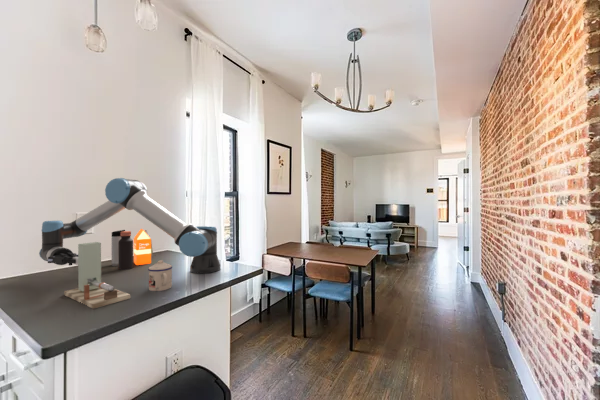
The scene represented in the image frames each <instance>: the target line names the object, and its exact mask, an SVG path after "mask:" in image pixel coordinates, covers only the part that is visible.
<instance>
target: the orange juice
mask: <svg viewBox="0 0 600 400" xmlns="http://www.w3.org/2000/svg"><path fill="white" fill-rule="evenodd" d="M149 236H150V235H149V234H148V235H147V234H146V232H145V230H144V229H143V228H140V230H139V231H138V232H137V233H136V235H134V238H133V264H135V265H136V266H139V265H140V266H141V265H142V266H143V265H148V264H152V256H151V241H152V239H151V236H150V237H149Z"/></svg>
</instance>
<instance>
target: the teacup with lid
mask: <svg viewBox="0 0 600 400" xmlns="http://www.w3.org/2000/svg"><path fill="white" fill-rule="evenodd" d="M172 270H173V265H172V264H169V263H167V262H164V260H163V259H161V260H158V261H157V262H156V263H154V264H153V265H150V266H149V267H148V290H149V291H151V292H161V291H167V290H169V289H171V288H172V286H173V283H172V282H173V281H172V279H173V276H172V275H173V273H172V272H173V271H172Z"/></svg>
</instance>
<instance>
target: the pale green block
mask: <svg viewBox="0 0 600 400" xmlns="http://www.w3.org/2000/svg"><path fill="white" fill-rule="evenodd" d="M77 245H78V246H77V249H78V250H77V251H78V253H77V255H78V265H77V266H78V267H77V268H78V269H77V270H78V271H77V272H78V273H77V274H78V282H77V288H78V290H80V291H82V292H83V291H84V285H89V290H92V289H96V288H99V287H96V286H93V285H91V284H88V279H94V280H97V281H99V282H102V243H101V242H99V241H94V242H85V243H84V242H83V243H78V244H77Z"/></svg>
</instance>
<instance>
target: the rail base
mask: <svg viewBox="0 0 600 400" xmlns="http://www.w3.org/2000/svg"><path fill="white" fill-rule="evenodd" d="M63 292H64V293H63V295H64V296H66V297H68V298H70V299H72V300H74V301H77V302H78V303H80V302H81V303H80V304H82V303H83V304H82V305H84V304H85V306H86V305H87V307H88V308H91V309H98V308H101V307H104V306H109V305H113V304H115V303H118V302H123V301H126V300H129V299H131V294H130V293H127V292H126V291H122V290H119V289H116V288H114V290H113V291H112V292H109V291H107V290H104V289H100V288H96V289H92V290H89V285H84V291H83V292H82V291H80V290H78V287H76V288H72V289H67V290H64V291H63Z"/></svg>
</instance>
